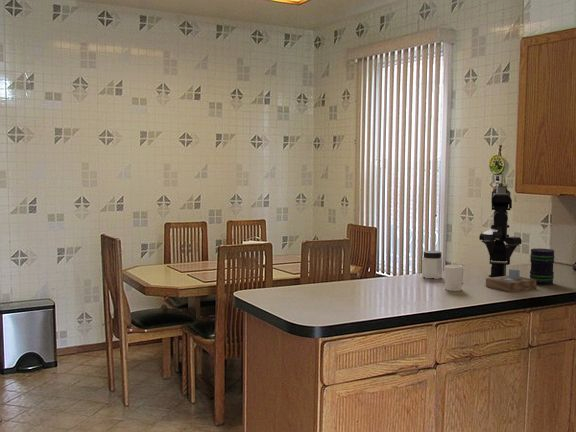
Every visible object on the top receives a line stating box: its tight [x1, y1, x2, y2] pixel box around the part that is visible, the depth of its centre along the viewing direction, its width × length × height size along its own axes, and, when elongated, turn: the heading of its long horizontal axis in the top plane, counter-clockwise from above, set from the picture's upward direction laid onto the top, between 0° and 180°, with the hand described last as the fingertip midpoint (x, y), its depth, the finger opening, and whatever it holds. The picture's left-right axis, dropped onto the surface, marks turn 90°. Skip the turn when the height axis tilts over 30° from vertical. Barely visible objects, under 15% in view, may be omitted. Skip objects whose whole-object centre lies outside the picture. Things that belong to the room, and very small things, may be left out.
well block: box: [485, 275, 537, 293], centre depth 268 cm, size 16×13×4 cm
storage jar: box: [529, 247, 555, 287], centre depth 277 cm, size 10×10×15 cm
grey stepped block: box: [502, 268, 521, 281], centre depth 268 cm, size 6×4×7 cm, turn 118°
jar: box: [421, 250, 443, 280], centre depth 291 cm, size 9×8×12 cm
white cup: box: [443, 264, 465, 292], centre depth 263 cm, size 8×8×10 cm
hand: (499, 258), depth 273 cm, fingers open, 9 cm apart
